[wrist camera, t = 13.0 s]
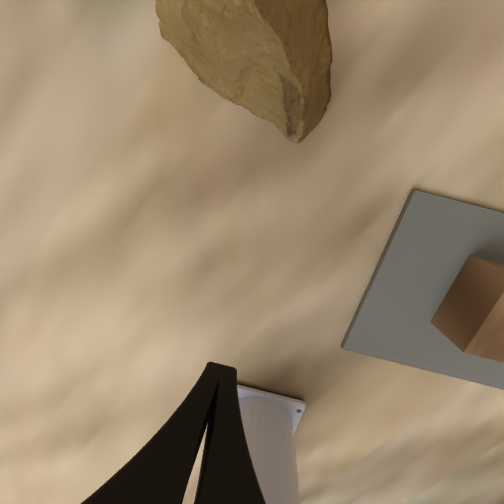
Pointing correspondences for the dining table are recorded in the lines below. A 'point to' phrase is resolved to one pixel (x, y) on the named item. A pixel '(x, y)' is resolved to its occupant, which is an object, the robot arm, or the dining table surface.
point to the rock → (257, 54)
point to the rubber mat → (426, 287)
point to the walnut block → (475, 310)
